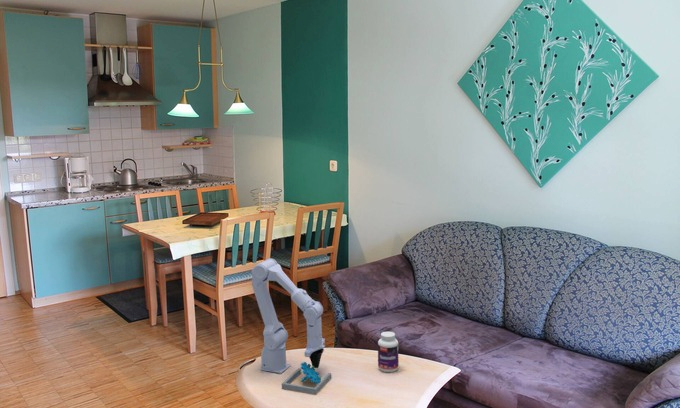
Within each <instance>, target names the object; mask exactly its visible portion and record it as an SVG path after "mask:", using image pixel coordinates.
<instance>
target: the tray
mask: <svg viewBox="0 0 680 408" xmlns="http://www.w3.org/2000/svg"><path fill="white" fill-rule="evenodd" d="M301 374H302V369H301V367H299V368H297V369H295V371H294V372H293V373H292V374H291V375H289V376H288V377H287V378H285V380H284V381H283V382H281V389H282V390H287V391H293V392H298V393H305V394H309V395H310V394H311V395H315V396H316V395H317V394H318V393H319V392H320V391H321V390H322V389H323V388H324V387H325V386H326V385H327V384H328V383H329V381H331V379H332V373H330V372H328V373H327V374H326V375H325V376H324V378H322V380H320V381H321V382H320V383H318V384H316V386H315V387H311V386H307V385H306V386H305V385H299V384H294V383H292V382H294V381H295V379H297V378H298V377H299V376H300V375H301Z"/></svg>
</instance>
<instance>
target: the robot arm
mask: <svg viewBox="0 0 680 408" xmlns="http://www.w3.org/2000/svg"><path fill="white" fill-rule="evenodd" d="M251 275H252V276H251V277H252V278H251V287H252V289H253V294H254V296H255V299H256V301H257V302H256V303H257V305H258V308H259V312H260V315H261V317H262V320H263V321H262V322H263V324H264V329H263V333H262V335H263V344H264V345H263V347H262V348H261V353H260V355H261V356H260V359H261V360H260V361H261V368H260V370H261V371H265V372H272V373H277V374H283V373H284V372H285V371H286V370H287V369H289V367H291V364H290V363H287V352H286V351H287V349H286V345H287V344H286V342H287V341H288V340H289V339H288V338H289V333H288V331H287V329H285V327H284V324H283V323H282V322H280V321H279V320H278V315H277V313H276V310H275V306H274V303H273V300H272V297H271V294H270V291H269V288H268V282H272V281H273V282H276V283H278V284H279V285H280V286H282V288H283V289H284V290H286V291H287V293H289V294H290V296H291V297H290V299H291V300H292V302H293V303H295V305H296V306H297V307H298V308H299V309H300V310H301V311H302V312H303V314H302V316H303V317H304V318H305V321H306V337H307V340H306V341H307V345H306V348H305V350H304V352H303V354H304V357H305V358H309V360H310V363H311V367H312V366H314V367H315V369H318V368H319V366H320V363H321V357H322V355H323V353H324V351H325V350H324V349H325V348H326V345H325V343H326V338H323V330H322V328H323V327H322V323H323V322H322V315H323V313H324V307H323V305H322V303H321V302H320V301H316V300H315V299H312V297H311V296H309V294H308V292H307V291H306V290H305V289H303V288H298V287H297V286H296V284H295V283H293V280H291V279H290V277H289V276H288V275H287V274H286V273H285V272H284V271H283V269H282V266H281V264H279V263H278V262H277V260H276V259H274V258H270V257H269V258H267V259H265V260H263V261H261V262H260V263H256V264H255V265H254V266H253V268H252V269H251Z"/></svg>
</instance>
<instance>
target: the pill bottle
mask: <svg viewBox="0 0 680 408" xmlns="http://www.w3.org/2000/svg"><path fill="white" fill-rule="evenodd" d="M399 365H400V364H399V340H398V339H397V338H396V333H395V332H393V331H383V332H381V334H380V338H379V340H378V341H377V367H378V369H379V370H380V371H381V372H384V373H393V372H396V371H397V370H398V369H399Z"/></svg>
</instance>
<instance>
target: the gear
mask: <svg viewBox="0 0 680 408" xmlns="http://www.w3.org/2000/svg"><path fill="white" fill-rule="evenodd" d="M300 368H301V373H303V374H304V375H305V376H304V377H302V379H301V381H300V382H301V383H302V384H303V383H304V382H305V381H306V380H308V379H310V382H312V383H314V384H316V385H318V384H319V383H320V382H321V381H322V380H321V379H322V377H321V376H319V375H320V374H319V372H318V371H316V368H315V367H314V366H312V364H310V363H307V362H306V361H303V362H301V363H300Z"/></svg>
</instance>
